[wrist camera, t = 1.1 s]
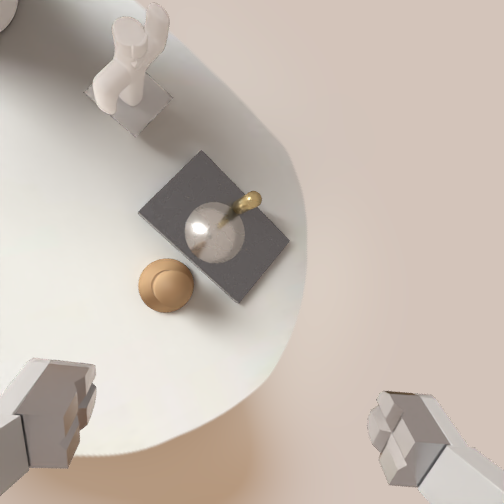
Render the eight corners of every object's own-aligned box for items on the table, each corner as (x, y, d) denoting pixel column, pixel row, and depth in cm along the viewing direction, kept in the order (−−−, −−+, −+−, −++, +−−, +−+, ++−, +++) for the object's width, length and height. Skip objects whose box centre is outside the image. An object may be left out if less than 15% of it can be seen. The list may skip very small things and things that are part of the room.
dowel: (229, 207, 45) (243, 198, 39) (238, 197, 45) (253, 187, 40) (239, 217, 45) (254, 210, 40) (248, 207, 46) (264, 199, 40)
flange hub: (126, 287, 41) (125, 293, 33) (164, 247, 43) (172, 243, 35) (167, 322, 43) (176, 334, 35) (202, 282, 45) (218, 285, 37)
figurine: (81, 112, 40) (54, 31, 26) (131, 65, 43) (132, -34, 29) (129, 153, 42) (129, 97, 28) (175, 105, 44) (196, 31, 30)
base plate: (137, 213, 42) (138, 211, 41) (199, 153, 45) (201, 149, 44) (235, 302, 46) (239, 303, 45) (285, 241, 50) (290, 240, 48)
